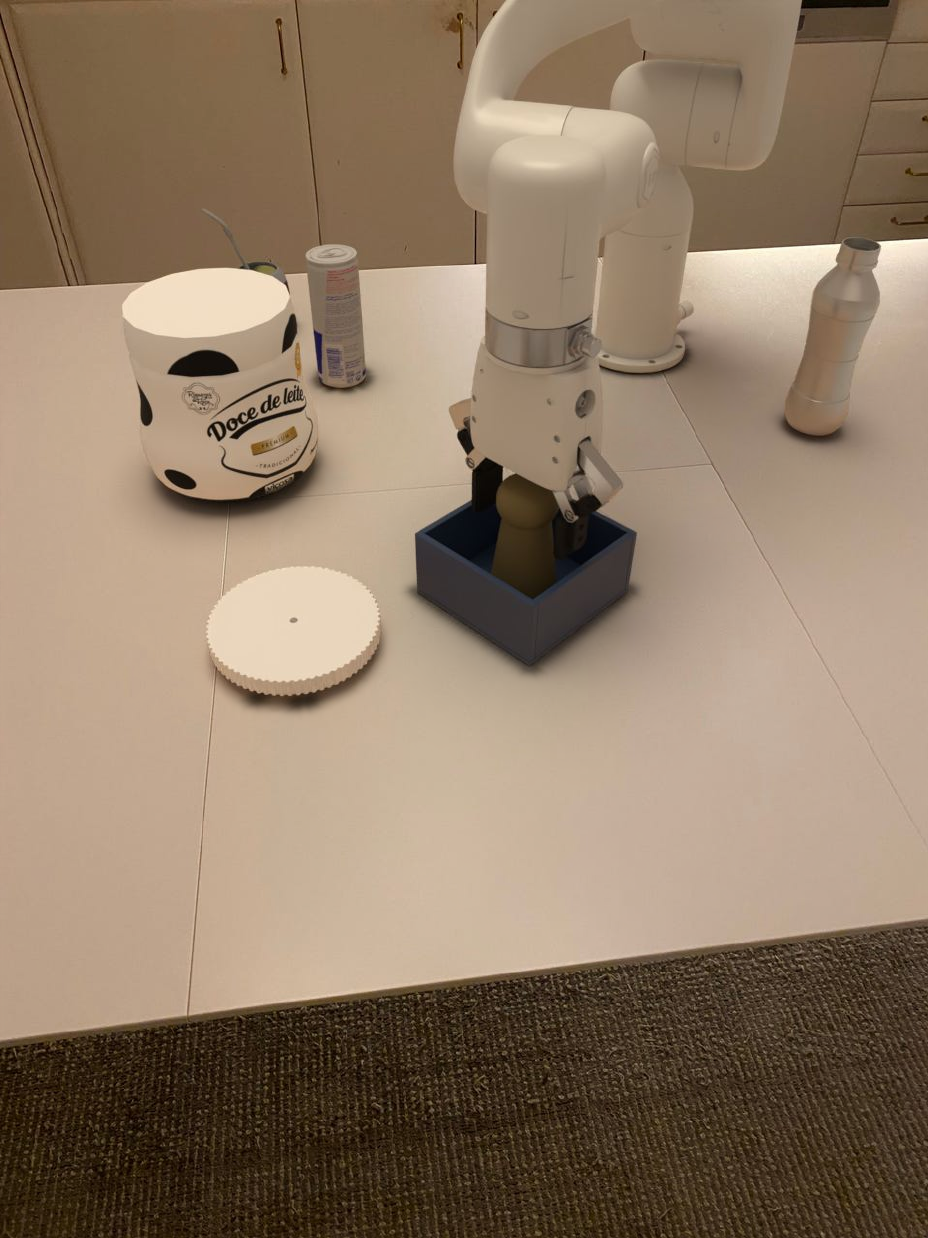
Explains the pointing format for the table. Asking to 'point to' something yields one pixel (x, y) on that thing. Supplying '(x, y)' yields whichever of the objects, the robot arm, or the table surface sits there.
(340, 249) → the beverage can
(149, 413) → the milk container
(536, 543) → the olive brown pawn
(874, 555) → the table surface
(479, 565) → the blue square bin
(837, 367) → the plastic bottle
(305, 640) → the plastic lid
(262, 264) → the mate gourd
